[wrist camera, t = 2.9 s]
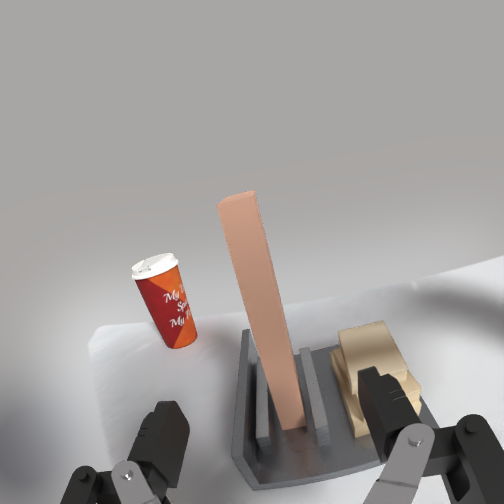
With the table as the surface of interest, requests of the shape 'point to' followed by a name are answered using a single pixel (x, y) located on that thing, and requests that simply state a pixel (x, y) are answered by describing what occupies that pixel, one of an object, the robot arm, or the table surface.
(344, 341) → the offcut stack
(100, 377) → the table surface
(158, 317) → the paper cup
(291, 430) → the rack
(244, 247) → the pink rectangular bar
